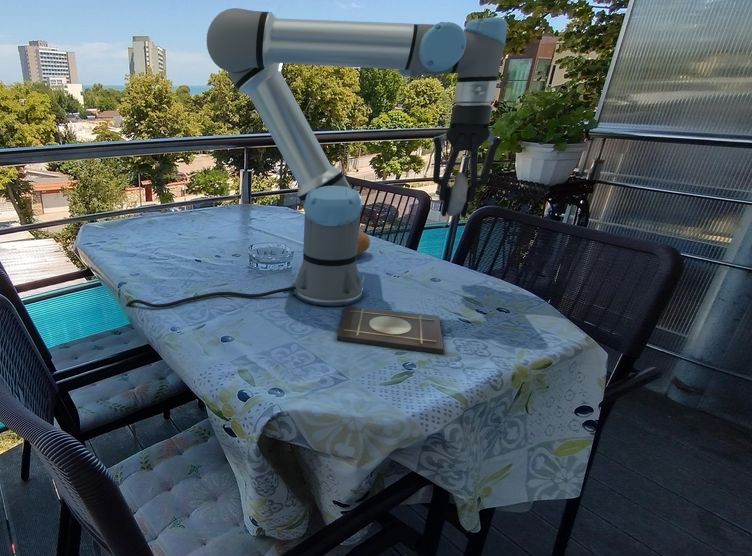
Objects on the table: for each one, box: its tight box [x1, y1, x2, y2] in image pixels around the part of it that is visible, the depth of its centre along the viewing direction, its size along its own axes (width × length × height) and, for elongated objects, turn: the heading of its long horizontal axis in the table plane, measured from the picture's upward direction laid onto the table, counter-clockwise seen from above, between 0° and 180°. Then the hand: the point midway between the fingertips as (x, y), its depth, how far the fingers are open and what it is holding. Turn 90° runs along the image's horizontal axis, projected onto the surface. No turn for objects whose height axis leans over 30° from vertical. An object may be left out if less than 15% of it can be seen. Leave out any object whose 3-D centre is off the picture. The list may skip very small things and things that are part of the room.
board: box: [336, 305, 444, 355], centre depth 89 cm, size 18×14×1 cm
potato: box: [357, 230, 371, 256], centre depth 130 cm, size 9×11×8 cm
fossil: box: [446, 171, 469, 217], centre depth 104 cm, size 6×4×10 cm, turn 169°
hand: (453, 215), depth 106 cm, fingers closed on fossil, 3 cm apart
